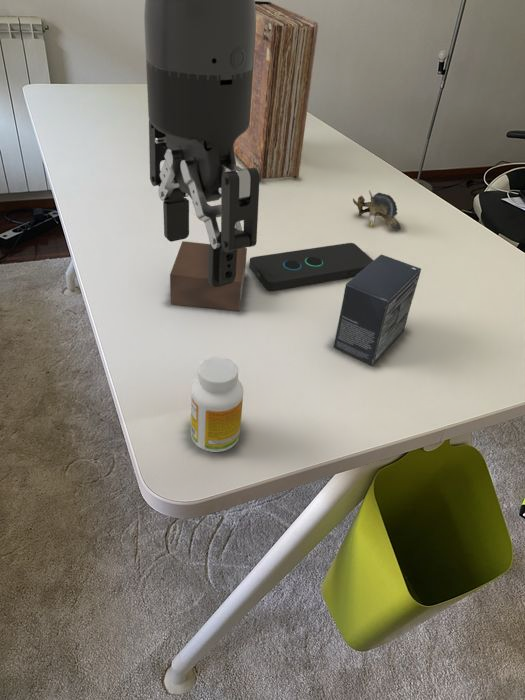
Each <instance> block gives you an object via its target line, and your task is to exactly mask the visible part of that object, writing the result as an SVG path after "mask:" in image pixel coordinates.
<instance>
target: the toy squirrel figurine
mask: <svg viewBox="0 0 525 700" xmlns="http://www.w3.org/2000/svg"><path fill="white" fill-rule="evenodd" d="M368 194H369V196H370V201H367V202H366V199H365V197H364V196H363V195H362V194H360V196H358V198H357V200H356V199H355V198H352V202H353V204H354V205H355V206H356V207H357V209H358V216H359V217H362V215H363V214H366V213H369V219H370V221H369V222H370V224H369V227H372V226H373V225H374V224H375V222H376V217H380V218H382V219H383V220H384V221H385V222H386V223H387V224H388V226H389V227H390V229H391V230H392V231H394V232H395V231H396V232H400V231H401V228H402V227H401V225H400V224H401V223H399V220H398V219H397V218H396V216H397V215H398V207H397V202H395V200H394V198H393V197H392V196H391V195H390V194H386V193H382V192H377V193H375V194H372V192H371V190H370V189H369V190H368ZM363 207H364V209H363Z"/></svg>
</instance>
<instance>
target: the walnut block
mask: <svg viewBox="0 0 525 700" xmlns="http://www.w3.org/2000/svg"><path fill="white" fill-rule="evenodd" d="M209 245H210V243H203V242H194V241H182V240H181V244H180V246H179V248H178V249H179V250H178V252H177V255H176V258H175V259H174V263H173V265H172V268H171V271H170V273H169V289H170V290H169V293H170V296H169V297H170V305H173V306H174V305H175V306H184V307H195V308H204V309H215V310H223V311H232V312H233V311H234V312H240V309H241V303H242V297H243V290H244V284H245V277H246V265H247V255H248V254H247V253H248V247H246V248H242V249H238V250H237V265H236V277H235V280H234V281H233V282H232V283H231V284H227V285H224V286H220V287H213V286H212V285H211V284H210V283H209V281H208V266H209Z"/></svg>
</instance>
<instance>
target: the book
mask: <svg viewBox="0 0 525 700" xmlns="http://www.w3.org/2000/svg"><path fill="white" fill-rule="evenodd" d="M255 11H256V36H255V51H254V65H253V81H252V96H251V111H250V124H249V127H248V129H247V130H246V131H245V132H244V133H243V134H241V135H240V136H239V137H238V138H237V139H236V140H235V142H234V154H235V157H237V159H238V160H239V161H240V162H241V163H242V164H243V166H244V167H245V168H246V169H248V168H256V169H257V170H258V172H259V176H260V181H259V183H262V181H263V180H265V179H280V178H294V179H295V180H298V179H299V176H300V170H301V162H302V155H303V154H302V152H303V147H304V139H305V131H306V123H307V115H308V108H309V107H308V106H309V100H310V99H309V98H310V92H311V83H312V77H313V68H314V61H315V53H316V45H317V39H318V30H319V22H317V21H315V20H313V19H310V18H308V17H306V16H303V15H301V14H298V13H296V12H294V11H292V10H289V9H287V8H285V7H282V6H280V5H278V4H275V3H273V2H271V1H261V0H259V1H258V0H255Z"/></svg>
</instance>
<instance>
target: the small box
mask: <svg viewBox="0 0 525 700" xmlns="http://www.w3.org/2000/svg"><path fill="white" fill-rule="evenodd" d="M373 260H374V261H373V262H371V263H370V264H369V265H368V266H367V267H366V268H364V269H363V270H362V271H361V272H360V273H358V274H357V275H356V276H355V277H351V279H350V280H348V281H347V282H346V283H345V287H344V293H343V298H342V302H341V307H340V314H339V318H338V323H337V326H336V327H337V328H336V333H335V338H334V342H333V348H334V349H335V350H338V351H340V352H341V353H344V354H346V355H348V356H350V357H353V358H354V359H357V360H359V361H361V362H363V363H365V364H367V365H369V366H374V365H375V364H376V363H377V361H378V360H379V359H380V358H381V357H382V356H383V355H384V354H385V353H386V351H387V350H389V349H390V347H391V346H392V345H393V344H394V343H395V342H396V340H397V339H399V337H400V336H402V334H403V333H404V331H405V330H406V325H407V321H408V317H409V313H410V309H411V307H412V303H413V301H414V300H413V299H414V296H415V292H416V289H417V285H418V282H419V279H420V275H421V271H422V268H421V267H418V266H415V265H413V264H410V263H407V262H404V261H401V260H398V259H396V258H392V257H390V256H388V255H384V254H380V255H378V256H377V257H376V258H374V259H373Z"/></svg>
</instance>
